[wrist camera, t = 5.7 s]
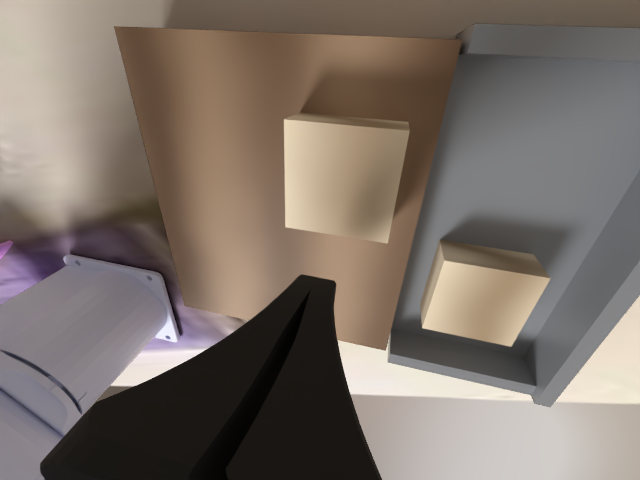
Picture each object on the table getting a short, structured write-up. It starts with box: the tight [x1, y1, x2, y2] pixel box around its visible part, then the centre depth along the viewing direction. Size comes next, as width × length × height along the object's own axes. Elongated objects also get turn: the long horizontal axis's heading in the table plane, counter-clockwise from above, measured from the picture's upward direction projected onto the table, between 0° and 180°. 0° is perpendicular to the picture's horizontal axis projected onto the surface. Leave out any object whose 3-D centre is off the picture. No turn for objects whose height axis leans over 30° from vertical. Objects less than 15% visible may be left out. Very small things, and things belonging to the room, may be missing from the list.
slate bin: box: [388, 23, 640, 407], centre depth 14 cm, size 9×17×4 cm, turn 177°
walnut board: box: [114, 26, 462, 351], centre depth 17 cm, size 14×16×3 cm
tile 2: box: [284, 113, 410, 244], centre depth 12 cm, size 4×4×2 cm
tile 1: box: [420, 240, 551, 347], centre depth 15 cm, size 4×4×2 cm
